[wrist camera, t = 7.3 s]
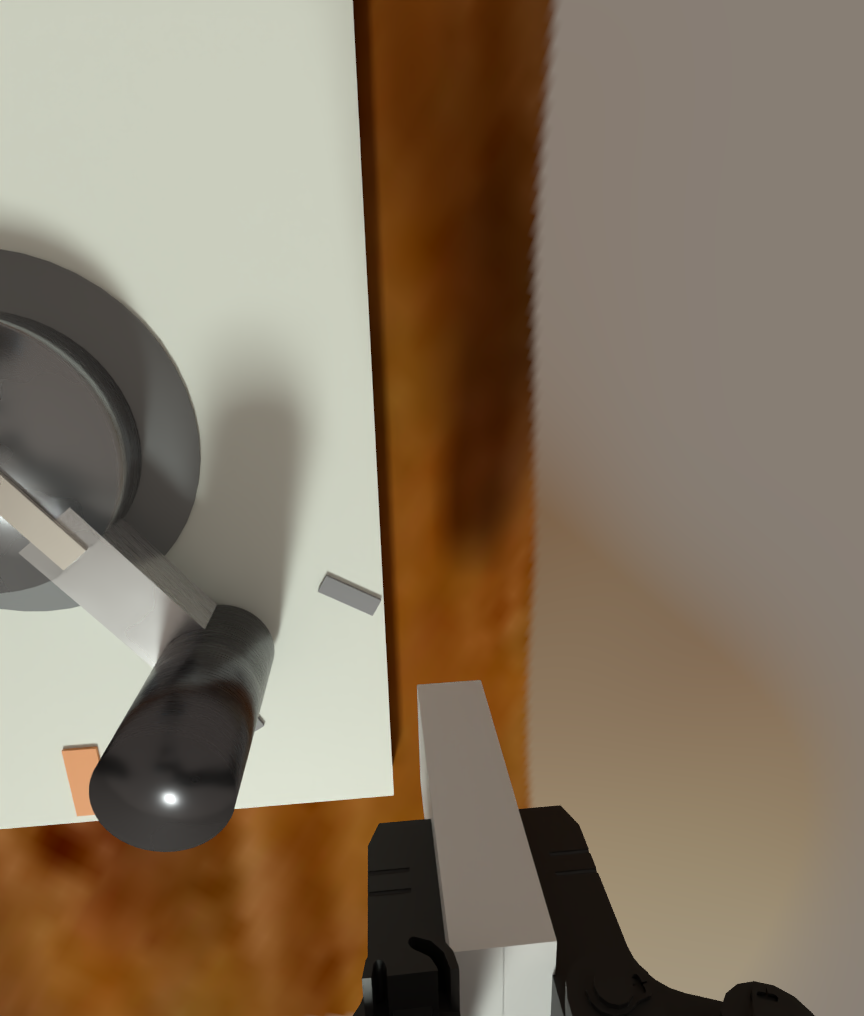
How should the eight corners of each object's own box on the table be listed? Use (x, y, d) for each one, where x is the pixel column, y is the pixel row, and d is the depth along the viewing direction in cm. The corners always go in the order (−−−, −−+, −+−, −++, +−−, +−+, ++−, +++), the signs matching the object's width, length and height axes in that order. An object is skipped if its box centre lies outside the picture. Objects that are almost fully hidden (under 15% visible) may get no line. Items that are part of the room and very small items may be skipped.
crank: (-195, 431, 15) (-508, 505, 9) (-13, 250, 14) (-242, 222, 9) (180, 741, 18) (103, 922, 13) (344, 608, 17) (334, 743, 12)
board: (-554, -120, 12) (-657, -167, 11) (347, -100, 14) (345, -139, 13) (-188, 815, 19) (-226, 850, 18) (392, 767, 21) (393, 797, 19)
